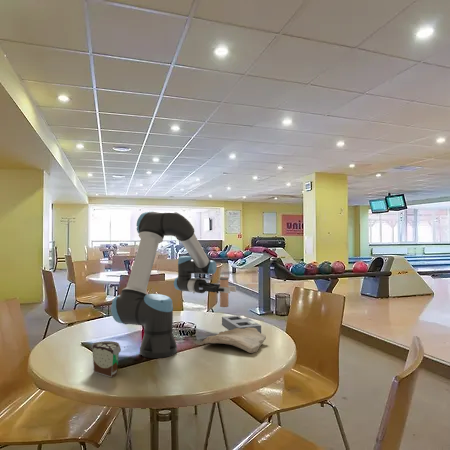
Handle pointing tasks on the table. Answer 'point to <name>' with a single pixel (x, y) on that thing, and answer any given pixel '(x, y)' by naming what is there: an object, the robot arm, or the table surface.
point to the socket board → (239, 322)
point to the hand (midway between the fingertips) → (232, 289)
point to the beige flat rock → (239, 339)
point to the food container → (106, 357)
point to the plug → (224, 296)
